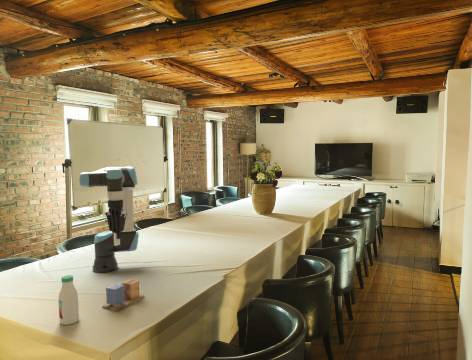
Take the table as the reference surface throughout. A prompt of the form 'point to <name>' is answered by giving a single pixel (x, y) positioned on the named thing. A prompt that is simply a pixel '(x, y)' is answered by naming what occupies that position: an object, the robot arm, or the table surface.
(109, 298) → the slate blue cube
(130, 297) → the organizer
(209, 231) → the table surface
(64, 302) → the milk bottle
